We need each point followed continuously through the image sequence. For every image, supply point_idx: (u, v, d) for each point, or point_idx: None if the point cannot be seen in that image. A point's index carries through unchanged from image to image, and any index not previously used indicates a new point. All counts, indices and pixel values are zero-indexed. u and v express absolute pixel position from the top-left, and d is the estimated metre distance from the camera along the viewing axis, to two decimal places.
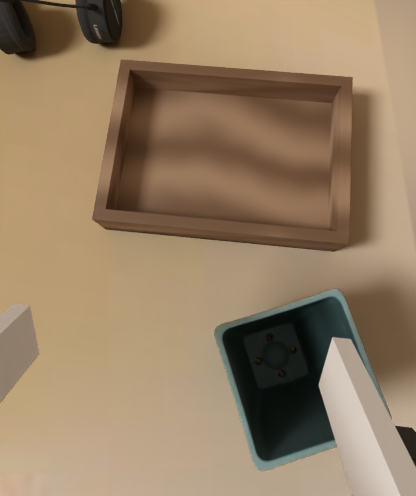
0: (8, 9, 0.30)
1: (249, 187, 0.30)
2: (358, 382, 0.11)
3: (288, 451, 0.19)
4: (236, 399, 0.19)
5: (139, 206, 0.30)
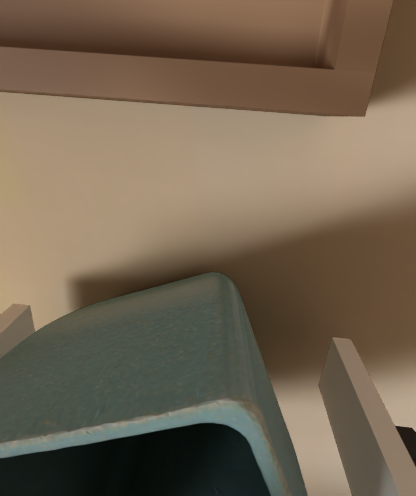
0: None
1: None
2: (358, 382, 0.11)
3: None
4: None
5: None
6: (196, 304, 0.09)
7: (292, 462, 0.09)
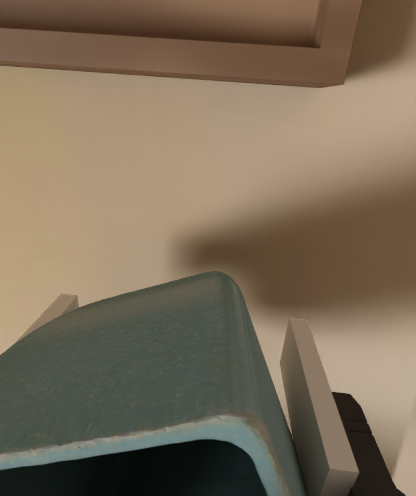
0: None
1: None
2: (305, 354, 0.12)
3: None
4: None
5: None
6: (197, 306, 0.08)
7: (296, 471, 0.09)
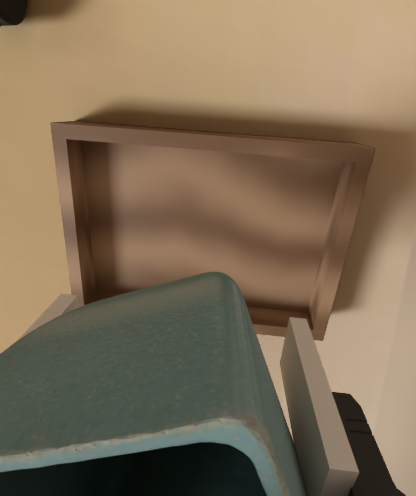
0: None
1: (231, 264, 0.28)
2: (305, 354, 0.12)
3: None
4: None
5: (117, 281, 0.29)
6: (196, 306, 0.08)
7: (297, 473, 0.08)
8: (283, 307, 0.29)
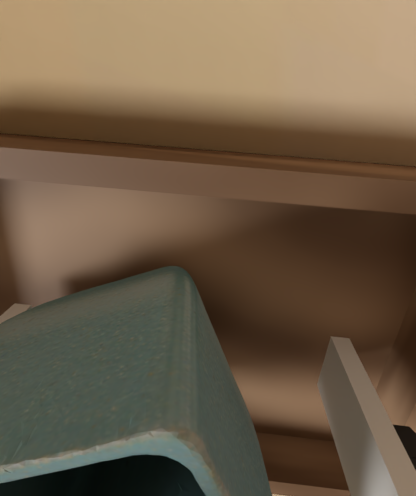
0: None
1: None
2: (356, 381, 0.11)
3: None
4: None
5: None
6: (147, 307, 0.08)
7: (252, 463, 0.09)
8: (315, 435, 0.18)
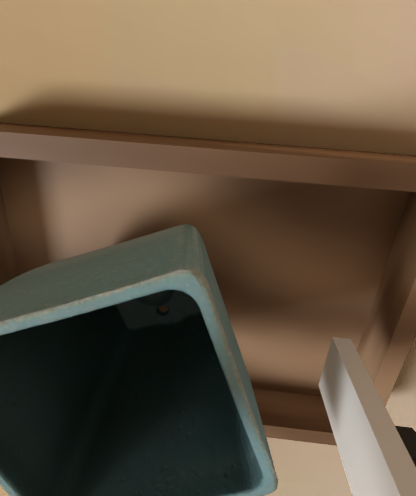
0: None
1: None
2: (358, 382, 0.11)
3: None
4: None
5: None
6: (164, 237, 0.11)
7: (241, 364, 0.11)
8: (305, 390, 0.20)
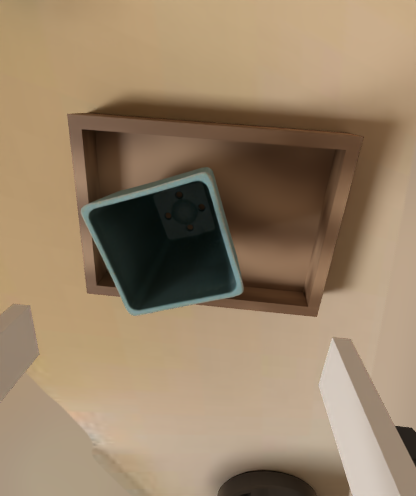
0: None
1: None
2: (358, 382, 0.11)
3: (156, 304, 0.23)
4: (108, 268, 0.22)
5: None
6: (194, 170, 0.22)
7: (230, 236, 0.22)
8: (280, 287, 0.31)
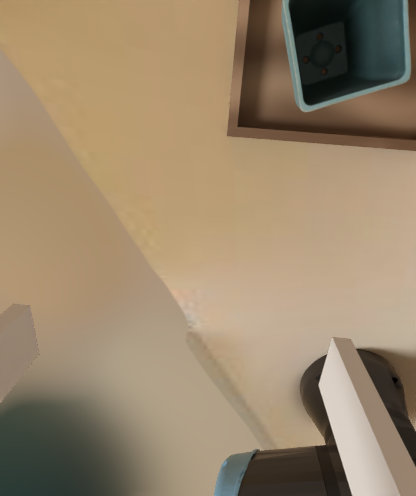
0: None
1: None
2: (358, 382, 0.11)
3: (326, 100, 0.27)
4: (294, 58, 0.25)
5: (258, 114, 0.35)
6: None
7: None
8: (397, 134, 0.35)
